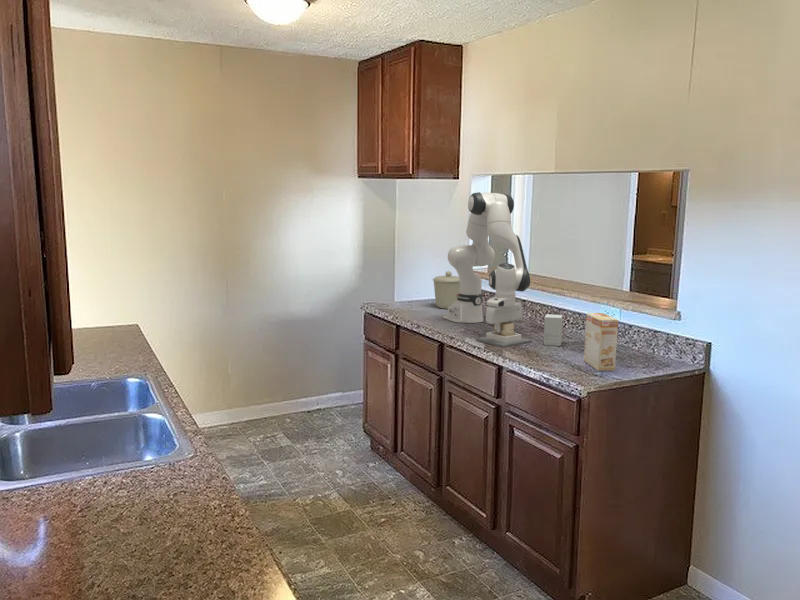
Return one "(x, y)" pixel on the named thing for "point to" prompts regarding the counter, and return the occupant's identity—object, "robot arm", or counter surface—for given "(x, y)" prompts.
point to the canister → (446, 290)
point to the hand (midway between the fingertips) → (504, 331)
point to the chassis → (503, 339)
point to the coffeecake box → (601, 341)
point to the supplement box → (553, 329)
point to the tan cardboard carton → (505, 329)
